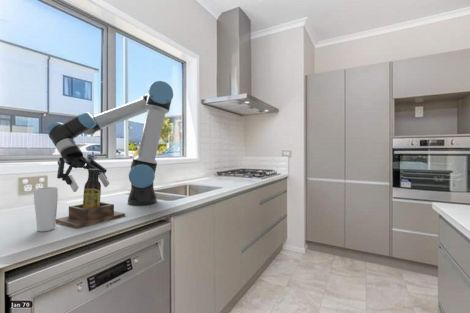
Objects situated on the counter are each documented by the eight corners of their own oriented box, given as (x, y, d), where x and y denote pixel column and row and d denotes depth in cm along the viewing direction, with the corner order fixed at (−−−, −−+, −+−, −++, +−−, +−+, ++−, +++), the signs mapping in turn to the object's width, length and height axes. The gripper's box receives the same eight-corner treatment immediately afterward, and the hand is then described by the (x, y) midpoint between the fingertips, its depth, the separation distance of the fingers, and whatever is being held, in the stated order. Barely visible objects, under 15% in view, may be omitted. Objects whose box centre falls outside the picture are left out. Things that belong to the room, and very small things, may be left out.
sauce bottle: (80, 218, 97) (81, 169, 97) (85, 214, 103) (86, 168, 103) (98, 217, 99) (99, 169, 99) (102, 213, 105) (103, 168, 105)
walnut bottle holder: (103, 211, 114) (103, 199, 114) (125, 216, 106) (125, 203, 106) (55, 222, 96) (55, 207, 96) (76, 228, 88) (76, 213, 88)
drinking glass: (62, 226, 90) (62, 187, 90) (49, 232, 84) (48, 190, 83) (44, 226, 90) (43, 187, 90) (29, 232, 83) (28, 190, 83)
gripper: (92, 156, 119) (114, 189, 113) (33, 157, 96) (56, 198, 90) (100, 145, 116) (122, 178, 110) (41, 144, 93) (65, 185, 88)
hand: (92, 187), depth 100 cm, fingers open, 13 cm apart
